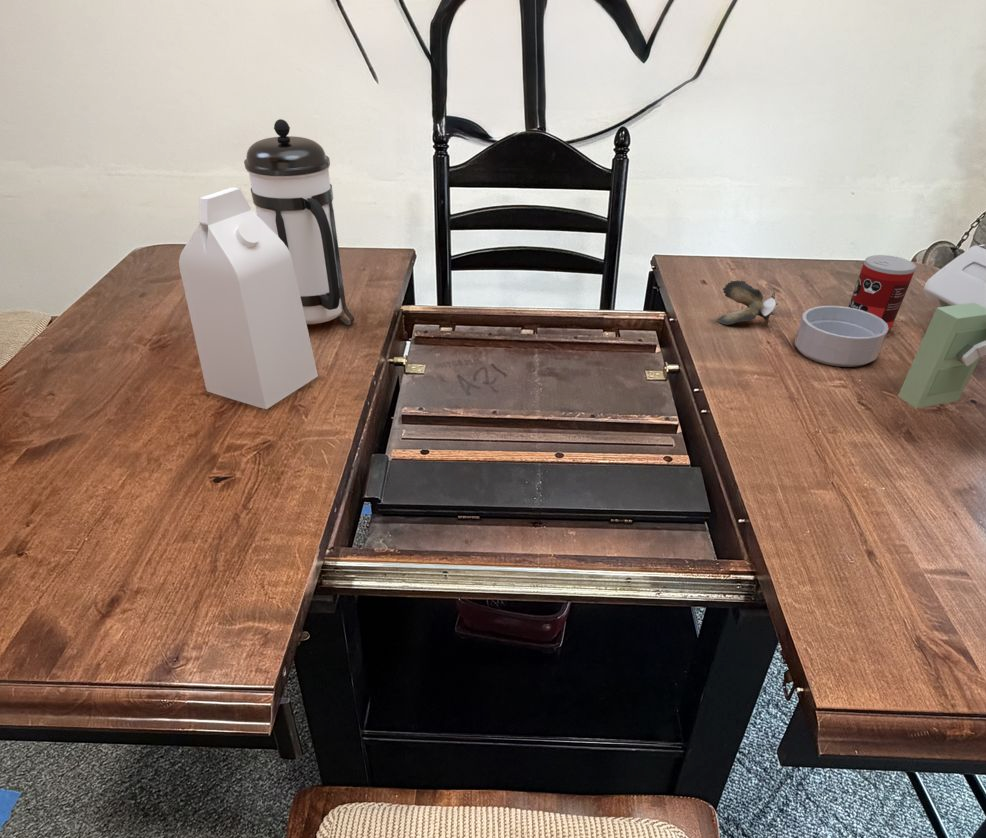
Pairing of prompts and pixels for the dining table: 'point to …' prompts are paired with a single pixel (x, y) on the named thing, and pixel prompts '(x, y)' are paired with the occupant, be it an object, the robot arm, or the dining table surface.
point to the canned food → (882, 286)
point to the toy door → (944, 356)
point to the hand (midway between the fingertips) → (946, 352)
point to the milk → (244, 305)
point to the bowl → (840, 335)
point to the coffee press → (301, 216)
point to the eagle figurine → (747, 303)
